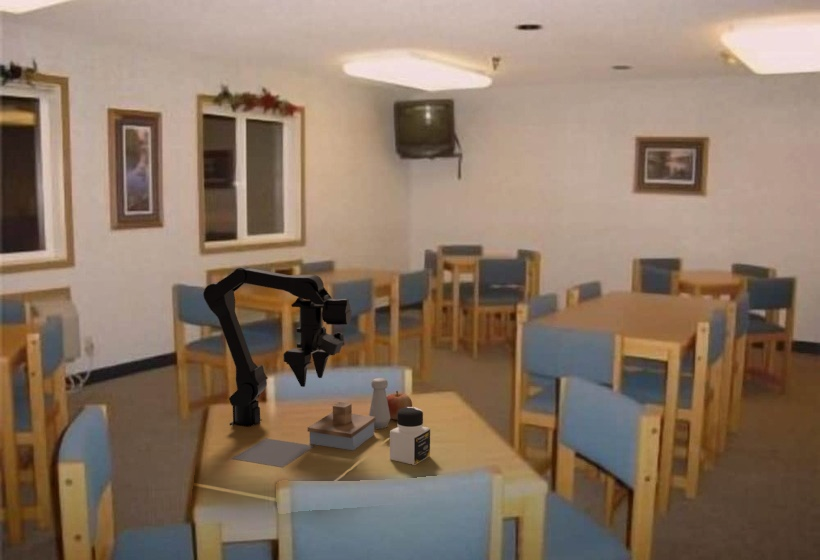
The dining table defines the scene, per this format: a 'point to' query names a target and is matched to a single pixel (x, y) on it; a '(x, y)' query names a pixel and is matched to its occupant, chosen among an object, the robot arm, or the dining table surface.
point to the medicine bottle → (410, 437)
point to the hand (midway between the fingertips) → (311, 382)
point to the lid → (342, 422)
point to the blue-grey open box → (342, 439)
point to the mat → (273, 452)
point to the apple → (397, 403)
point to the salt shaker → (379, 403)
